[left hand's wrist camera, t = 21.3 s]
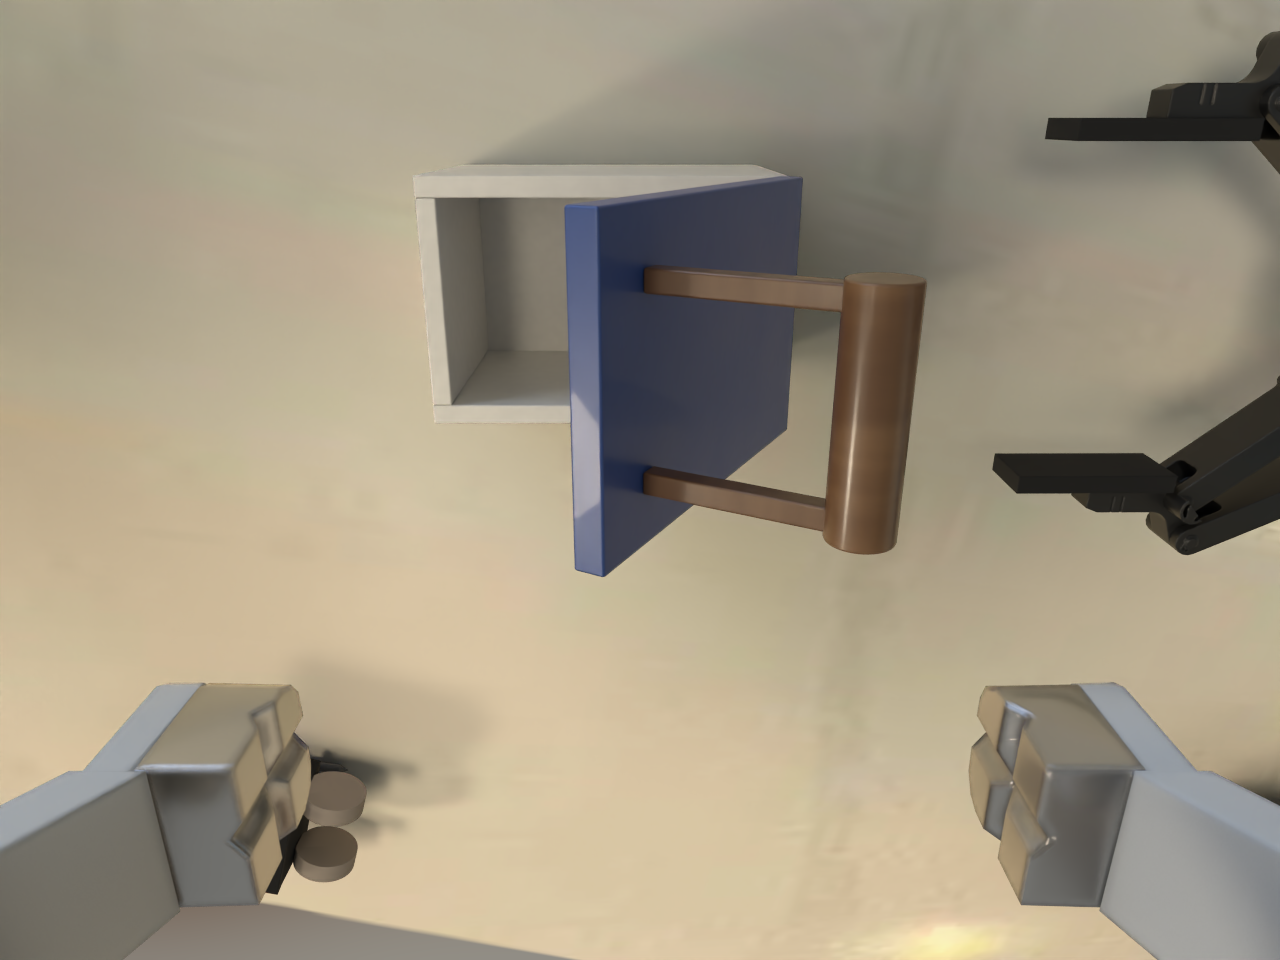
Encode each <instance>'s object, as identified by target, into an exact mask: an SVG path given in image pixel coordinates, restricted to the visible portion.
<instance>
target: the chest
mask: <svg viewBox="0 0 1280 960" xmlns="http://www.w3.org/2000/svg"><path fill="white" fill-rule="evenodd" d="M778 176H787V175H784V174H781V173H778V172H775V171H772V170H769V169H766V168H763V167H760V166H757V165H754V164H464V165H459V166H455V167H450V168H445V169H441V170H436V171H432V172H427V173H423V174H418V175H414V176H413V186H414V197H415V206H416V218H417V229H418V241H419V252H420V263H421V275H422V286H423V297H424V309H425V320H426V331H427V343H428V354H429V365H430V377H431V388H432V399H433V404H434V405H433V411H434V422H435V423H571V419H570V385H569V351H568V317H567V283H566V249H565V215H564V207H565V205H567V204H573V203H581V202H588V201H596V200H604V199H611V198H619V197H626V196H634V195H641V194H649V193H657V192H664V191H672V190H679V189H687V188H694V187H702V186H710V185H717V184H725V183H732V182H740V181H747V180H755V179H763V178H770V177H778Z"/></svg>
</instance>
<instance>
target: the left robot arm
mask: <svg viewBox="0 0 1280 960" xmlns="http://www.w3.org/2000/svg"><path fill="white" fill-rule="evenodd" d="M302 716H303V713H302V708H301V703H300V698H299V693H298V691H297V690H296V689H295V688H294V687H293V686H291V685H273V684H226V683H209V684H205V683H166V684H163V685H160V686H157V687H156V688H155V689H154V690H153V691H152V692H151V693H150V694H149V695H148V697H147V698H146V699H145V700H144V701H143V702H142V704H141V705H140V706H139V707H138V708H137V709H136V710H135V712H134V713H133V714H132V715H131V716H130V717H129V718H128V720H127V721H126V722H125V723H124V724H123V725H122V726H121V728H120V729H119V730H118V731H117V732H116V733H115V734H114V736H113V737H112V738H111V739H110V740H109V741H108V743H107V744H106V745H105V746H104V747H103V748H102V749H101V751H100V752H99V753H98V754H97V755H96V756H95V757H94V759H93V760H92V761H91V762H90V763H89V764H88V765H87V767H86V768H85V769H84V770H83V771H68V772H66V773H64V774H62V775H60V776H58V777H56V778H54V779H52V780H50V781H48V782H46V783H44V784H42V785H40V786H38V787H36V788H34V789H32V790H30V791H28V792H26V793H24V794H22V795H20V796H18V797H16V798H14V799H12V800H10V801H8V802H7V803H5V804H3V805H1V806H0V960H123V959H124V958H126V957H127V956H128V955H129V954H130V953H132V952H133V951H134V950H135V949H136V948H137V947H139V946H140V945H141V944H142V943H143V942H145V941H146V940H147V939H148V938H149V937H151V936H152V935H153V934H154V933H155V932H156V931H158V930H159V929H160V928H161V927H162V926H164V925H165V924H166V923H167V922H168V921H170V920H171V919H172V918H173V917H174V916H175V915H177V914H178V913H179V912H180V907H205V906H240V905H259V904H260V902H261V900H262V898H263V896H264V894H265V892H266V890H267V888H268V886H269V884H270V882H271V880H272V878H273V876H274V874H275V872H276V870H277V868H278V866H279V864H280V862H281V860H282V854H281V848H280V843H279V841H280V840H281V839H282V838H284V837H285V836H287V835H288V834H289V833H291V832H292V831H294V830H295V829H297V827H298V824H299V822H300V820H301V818H302V816H303V814H304V811H305V809H306V805H307V800H308V795H309V791H310V786H311V761H310V755H309V748H308V746H307V745H306V744H305V743H304V742H303V741H302V740H301V739H300V738H299V737H298V736H297V735H296V734H295V733H294V731H295V729H296V727H297V725H298V724H299V722H300V720H301V718H302ZM977 717H978V718H979V720H980V722H981V724H982V725H983V727H984V729H985V731H986V733H985V734H984V735H983V736H982V737H981V738H980V739H979V740H978V741H977V742H976V743H975V744H974V745H973V746H972V748H971V756H970V764H969V781H970V793H971V797H972V801H973V805H974V808H975V812H976V814H977V816H978V818H979V820H980V822H981V825H982V827H983V829H985V830H986V831H988V832H989V833H990V834H992V835H993V836H995V837H996V838H998V839H999V840H1000V841H1001V843H1000V848H999V854H998V860H999V862H1000V864H1001V866H1002V868H1003V870H1004V872H1005V874H1006V876H1007V878H1008V880H1009V882H1010V884H1011V886H1012V888H1013V890H1014V892H1015V894H1016V896H1017V898H1018V900H1019V902H1020V904H1021V905H1038V906H1073V907H1100V910H1099V911H1100V912H1101V913H1103V914H1104V915H1105V916H1106V917H1107V918H1108V919H1110V920H1111V921H1112V922H1113V923H1114V924H1116V925H1117V926H1118V927H1119V928H1120V929H1122V930H1123V931H1124V932H1125V933H1126V934H1127V935H1129V936H1130V937H1131V938H1132V939H1133V940H1135V941H1136V942H1137V943H1138V944H1139V945H1140V946H1142V947H1143V948H1144V949H1145V950H1146V951H1148V952H1149V953H1150V954H1151V955H1152V956H1154V957H1155V958H1156V959H1157V960H1280V806H1279V805H1277V804H1275V803H1273V802H1271V801H1269V800H1267V799H1265V798H1263V797H1261V796H1259V795H1257V794H1255V793H1254V792H1252V791H1250V790H1248V789H1246V788H1244V787H1242V786H1240V785H1238V784H1236V783H1234V782H1232V781H1230V780H1228V779H1226V778H1224V777H1222V776H1220V775H1218V774H1216V773H1214V772H1212V771H1197V770H1196V769H1195V768H1194V767H1193V766H1192V764H1191V763H1190V762H1189V761H1188V760H1187V759H1186V757H1185V756H1184V755H1183V754H1182V753H1181V752H1180V751H1179V749H1178V748H1177V747H1176V746H1175V745H1174V744H1173V743H1172V741H1171V740H1170V739H1169V738H1168V737H1167V736H1166V735H1165V733H1164V732H1163V731H1162V730H1161V729H1160V728H1159V727H1158V725H1157V724H1156V723H1155V722H1154V721H1153V720H1152V718H1151V717H1150V716H1149V715H1148V714H1147V713H1146V712H1145V710H1144V709H1143V708H1142V707H1141V706H1140V705H1139V704H1138V702H1137V701H1136V700H1135V699H1134V698H1133V697H1132V696H1131V694H1130V693H1129V692H1128V691H1127V690H1126V689H1125V688H1124V687H1123V686H1120V685H1118V684H1116V683H1114V682H1111V683H1080V684H1071V685H1018V686H986V687H985V689H984V691H983V693H982V695H981V697H980V701H979V707H978V712H977Z"/></svg>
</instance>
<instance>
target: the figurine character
mask: <svg viewBox="0 0 1280 960" xmlns="http://www.w3.org/2000/svg"><path fill="white" fill-rule="evenodd" d="M319 771H322V773H319ZM344 771H347V769H346V768H344V767H343V766H341V765H340V764H332V763H325V762H321V761H317V760H313V759H311V786H310V791H309V795H308V800H307V805H306V809H305V811H304V814H303V816H302V818H301V820H300V822H299V824H298V827H297V829H295V830H294V831H292V832H291V833H289V834H288V835H287V836H285V837H284V838H282V839H281V840H280V841H279V843H280V848H281V854H282V860H281V862H280V864H279V866H278V868H277V870H276V872H275V874H274V876H273V878H272V880H271V882H270V884H269V886H268V888H267V890H266V892H265V893H271V894H276V895H278V892H279V890H280V887H281V885H282V883H283V881H284V879H285V877H286V875H287V873H288V871H289V869H290V867H291V865H292V863H293V864H294V867H295V869H296V871H297V872H298V873H299V874H300V875H301V876H303V877H305V878H307V879H309V880H312V881H316V882H332V881H336V880H339V879H341V878H343V877H345V876H346V875H348V874H349V873H350V872H351V870H352V869H353V866H354V862H355V858H356V853H357V849H358V846H357V842H356V840H355V838H354V837H353V836H352V835H351V834H350V833H349V832H347V831H345V830H343V829H340V828H337V827H331V826H343V825H346V824H349V823H352V822H353V821H355V820H356V819H358V818H359V816H360V815H361V814H362V811H363V807H364V802H365V798H366V787H365V785H364V784H363V783H362V781H361V780H359V779H358V778H357V777H355V776H353V775H350V774H348V773H344ZM318 773H319V774H318ZM309 820H310V821H312V822H314V823H316V824H319V825H323V826H321V827H316V828H312V829H310V830H308V831H307V829H308V824H309Z"/></svg>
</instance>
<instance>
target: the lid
mask: <svg viewBox="0 0 1280 960" xmlns="http://www.w3.org/2000/svg"><path fill="white" fill-rule="evenodd" d="M802 183H803V178H802V177H789V176H778V177H770V178H763V179H755V180H747V181H740V182H732V183H725V184H717V185H710V186H702V187H694V188H687V189H679V190H672V191H664V192H657V193H649V194H641V195H634V196H626V197H619V198H611V199H604V200H596V201H588V202H581V203H573V204H567V205H565V207H564V215H565V249H566V283H567V317H568V351H569V385H570V419H571V452H572V486H573V520H574V554H575V569H576V570H577V571H581V572H585V573H589V574H593V575H597V576H601V577H605V576H606V575H608V574H609V573H610V572H611V571H612V570H614V569H615V568H616V567H617V566H619V565H620V564H621V563H622V562H624V561H625V560H626V559H627V558H629V557H630V556H631V555H632V554H633V553H635V552H636V551H637V550H638V549H640V548H641V547H642V546H643V545H645V544H646V543H647V542H648V541H650V540H651V539H652V538H653V537H654V536H656V535H657V534H658V533H659V532H661V531H662V530H663V529H664V528H666V527H667V526H668V525H669V524H671V523H672V522H673V521H674V520H675V519H677V518H678V517H679V516H680V515H682V514H683V513H684V512H685V511H687V510H688V509H689V508H690V507H692V506H693V505H698V506H703V507H707V508H712V509H717V510H722V511H727V512H732V513H736V514H741V515H746V516H751V517H756V518H760V519H765V520H770V521H775V522H780V523H785V524H789V525H794V526H799V527H804V528H809V529H814V530H818V531H823V537H824V540H825V541H826V542H827V543H828V544H829V545H831V546H832V547H834V548H836V549H839V550H842V551H845V552H849V553H855V554H879V553H884V552H887V551H889V550H891V549H892V548H893V547H894V546H895V545H896V543H897V535H898V526H899V518H900V509H901V501H902V492H903V483H904V475H905V466H906V458H907V449H908V441H909V432H910V424H911V415H912V407H913V398H914V389H915V381H916V372H917V364H918V355H919V347H920V338H921V330H922V321H923V312H924V304H925V295H926V287H927V281H926V280H925V279H924V278H921V277H918V276H914V275H909V274H901V273H886V272H866V273H855V274H851V275H848V276H846V277H845V278H844V279H833V278H820V277H807V276H797V262H798V246H799V230H800V215H801V199H802ZM795 308H801V309H811V310H822V311H833V312H841V319H840V331H839V343H838V355H837V367H836V379H835V391H834V403H833V415H832V427H831V439H830V451H829V463H828V475H827V487H826V499H824V498H819V497H814V496H809V495H803V494H798V493H793V492H788V491H782V490H777V489H772V488H766V487H761V486H756V485H751V484H745V483H740V482H735V481H730V480H725V479H726V478H727V477H729V476H730V475H731V474H732V473H734V472H735V471H736V470H737V469H738V468H740V467H741V466H742V465H743V464H745V463H746V462H747V461H748V460H750V459H751V458H752V457H753V456H755V455H756V454H757V453H758V452H759V451H761V450H762V449H763V448H764V447H766V446H767V445H768V444H769V443H771V442H772V441H773V440H774V439H776V438H777V437H778V436H779V435H781V434H782V433H783V432H784V431H785V430H786V429H787V418H788V403H789V387H790V371H791V356H792V340H793V324H794V309H795Z"/></svg>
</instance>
